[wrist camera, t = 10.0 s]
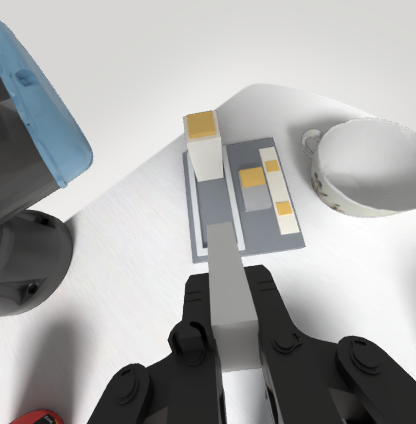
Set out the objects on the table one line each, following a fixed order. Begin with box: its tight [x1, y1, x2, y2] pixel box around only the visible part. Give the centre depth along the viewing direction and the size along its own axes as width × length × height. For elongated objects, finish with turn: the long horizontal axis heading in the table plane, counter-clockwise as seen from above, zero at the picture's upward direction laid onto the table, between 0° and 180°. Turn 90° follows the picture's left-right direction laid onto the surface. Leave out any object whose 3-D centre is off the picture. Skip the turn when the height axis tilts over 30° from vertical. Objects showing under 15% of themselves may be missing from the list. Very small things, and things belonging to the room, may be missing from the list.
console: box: [182, 138, 306, 264], centre depth 30 cm, size 15×18×3 cm
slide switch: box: [183, 111, 223, 182], centre depth 27 cm, size 4×4×10 cm
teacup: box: [301, 117, 416, 218], centre depth 26 cm, size 15×12×8 cm
